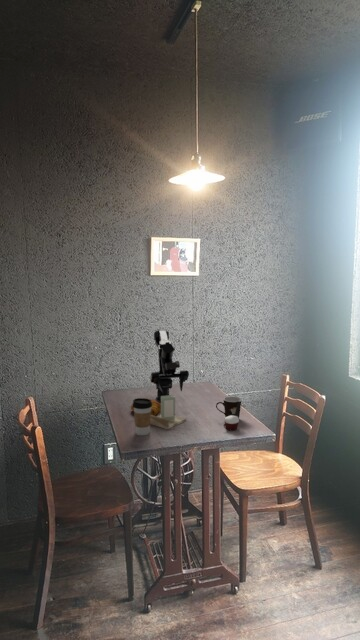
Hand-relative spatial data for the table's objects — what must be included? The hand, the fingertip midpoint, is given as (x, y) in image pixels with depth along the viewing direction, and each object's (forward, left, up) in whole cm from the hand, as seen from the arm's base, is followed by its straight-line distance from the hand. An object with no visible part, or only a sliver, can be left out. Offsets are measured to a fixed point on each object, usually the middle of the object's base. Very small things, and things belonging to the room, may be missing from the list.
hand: (172, 391), depth 204 cm
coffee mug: (-16, +22, -13) cm, 31 cm away
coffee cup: (+23, +2, -13) cm, 27 cm away
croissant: (+2, -15, -13) cm, 20 cm away
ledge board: (+6, +1, -13) cm, 14 cm away
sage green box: (+5, +2, -12) cm, 13 cm away
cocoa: (-6, +30, -13) cm, 34 cm away
